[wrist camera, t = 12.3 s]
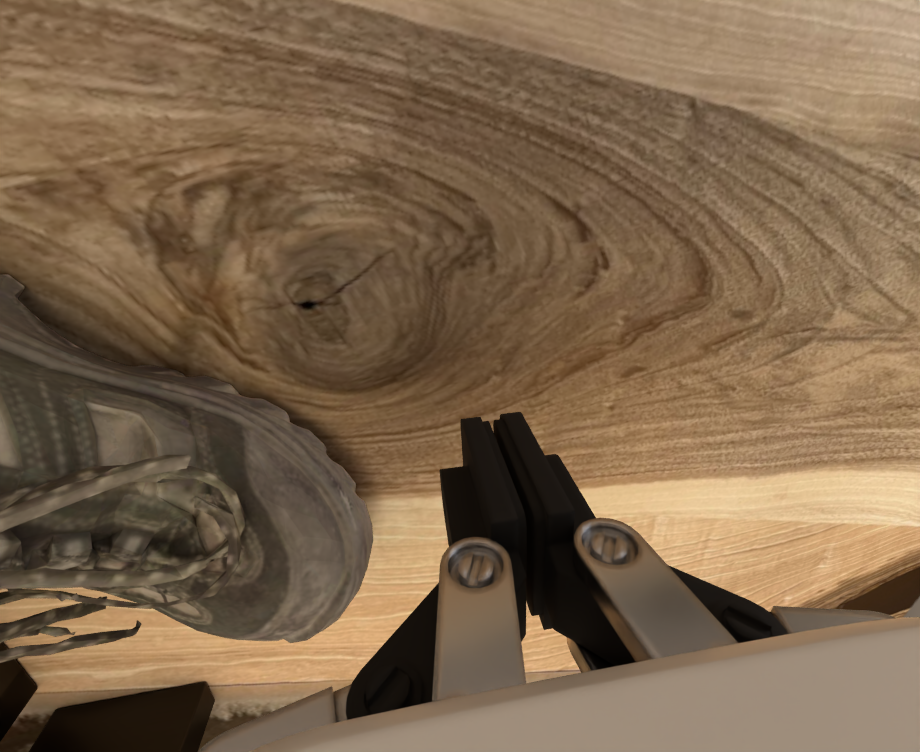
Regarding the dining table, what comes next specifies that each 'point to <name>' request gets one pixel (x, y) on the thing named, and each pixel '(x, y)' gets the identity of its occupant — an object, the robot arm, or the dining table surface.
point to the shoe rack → (112, 718)
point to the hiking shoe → (163, 498)
